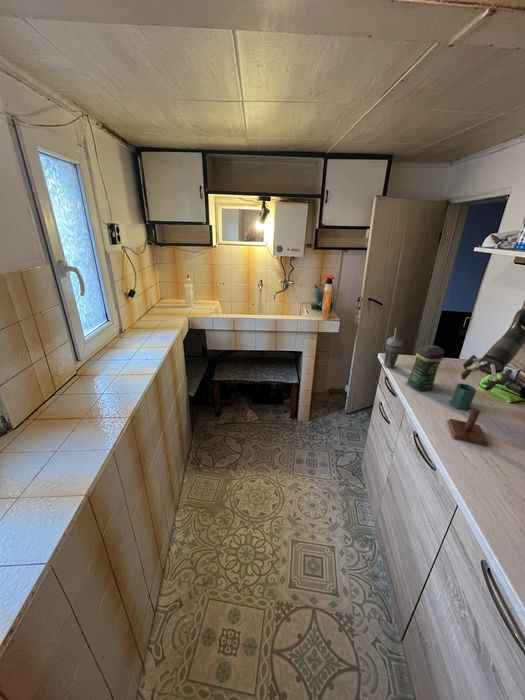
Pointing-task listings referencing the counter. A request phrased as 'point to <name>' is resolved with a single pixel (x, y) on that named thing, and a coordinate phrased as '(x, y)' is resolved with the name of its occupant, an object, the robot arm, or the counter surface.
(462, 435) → the peg stand
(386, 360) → the beverage cup
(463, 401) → the green octagonal tube
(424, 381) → the coffee jar
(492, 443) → the counter surface
